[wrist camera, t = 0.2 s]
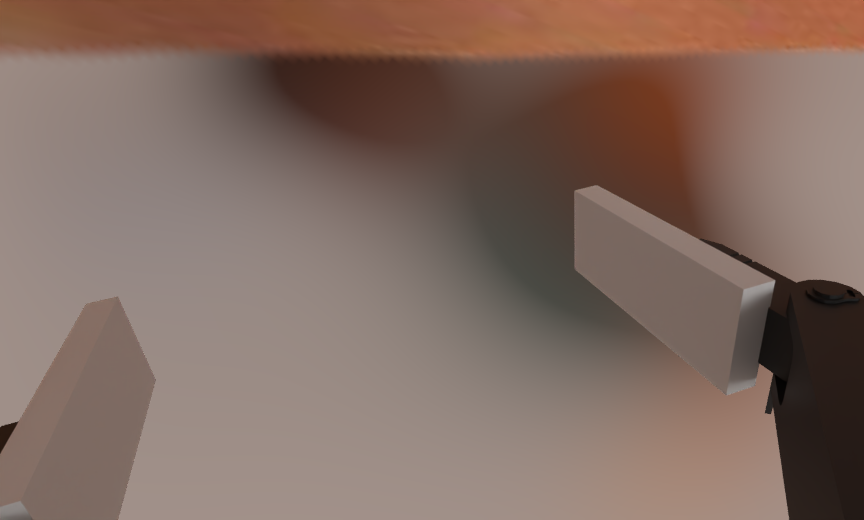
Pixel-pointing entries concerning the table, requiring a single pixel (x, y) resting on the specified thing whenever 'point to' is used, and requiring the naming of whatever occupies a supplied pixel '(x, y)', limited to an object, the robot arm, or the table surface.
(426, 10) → the table surface
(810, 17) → the table surface
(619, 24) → the table surface
